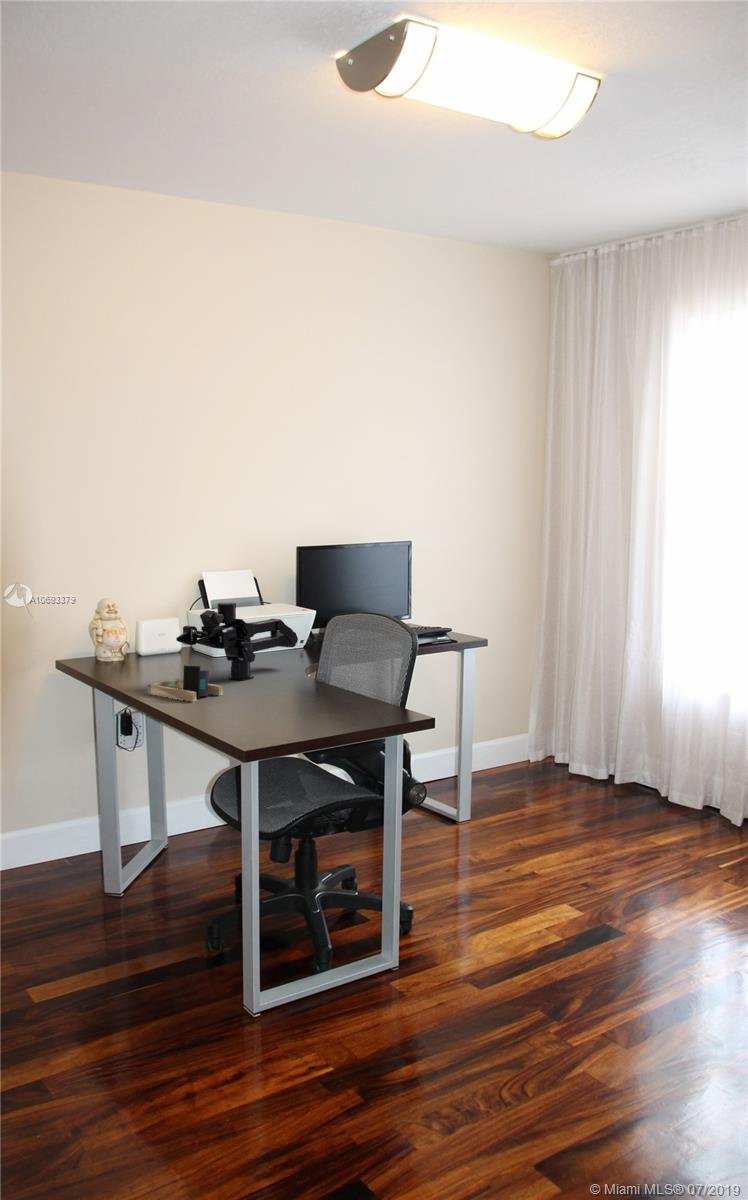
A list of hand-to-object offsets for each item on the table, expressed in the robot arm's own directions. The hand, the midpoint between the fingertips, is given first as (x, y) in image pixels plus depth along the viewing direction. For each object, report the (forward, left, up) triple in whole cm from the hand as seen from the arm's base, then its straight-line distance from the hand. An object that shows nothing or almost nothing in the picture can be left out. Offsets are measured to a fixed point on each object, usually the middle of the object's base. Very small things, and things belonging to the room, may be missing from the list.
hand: (186, 640), depth 315 cm
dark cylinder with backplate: (+5, +9, -17) cm, 20 cm away
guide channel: (+5, +4, -17) cm, 18 cm away
